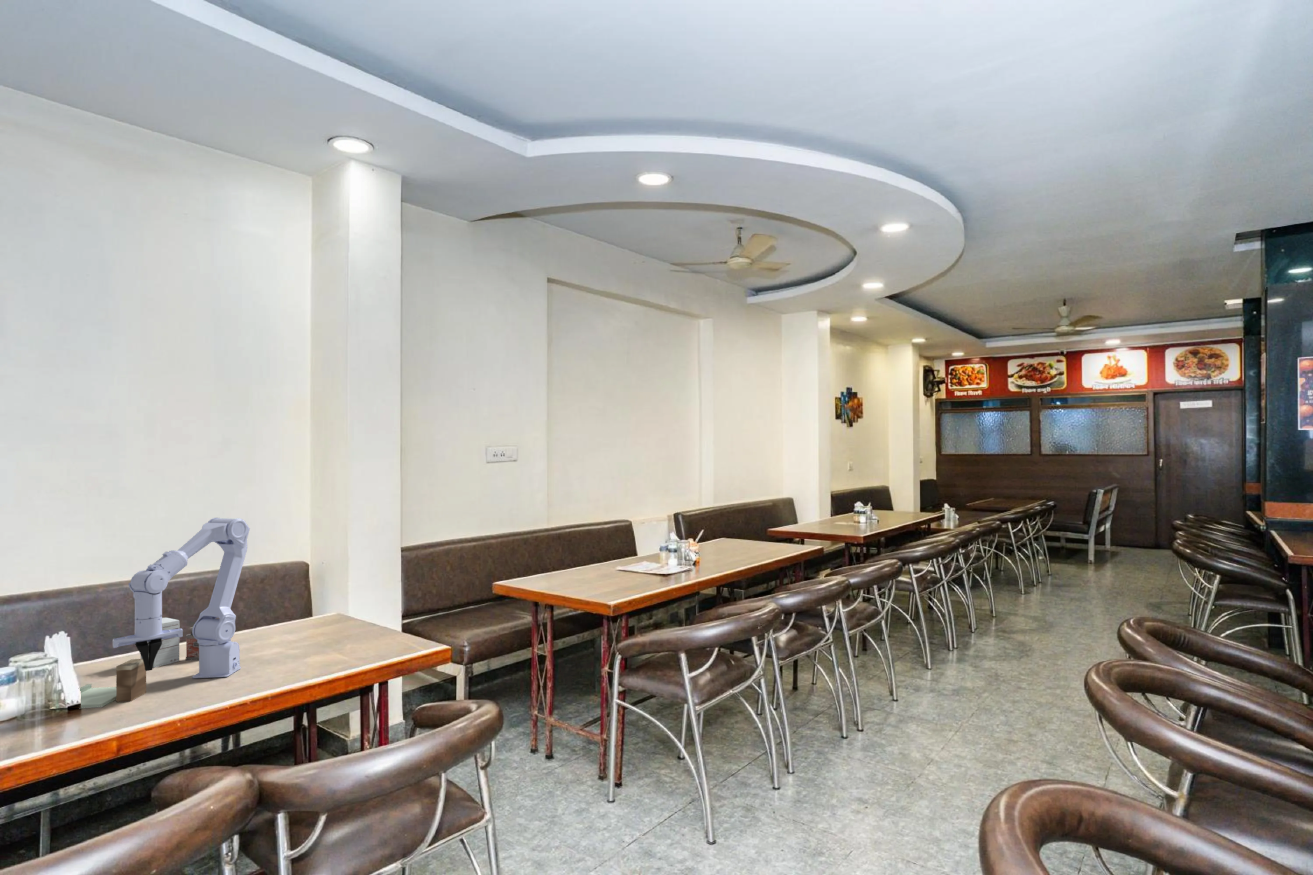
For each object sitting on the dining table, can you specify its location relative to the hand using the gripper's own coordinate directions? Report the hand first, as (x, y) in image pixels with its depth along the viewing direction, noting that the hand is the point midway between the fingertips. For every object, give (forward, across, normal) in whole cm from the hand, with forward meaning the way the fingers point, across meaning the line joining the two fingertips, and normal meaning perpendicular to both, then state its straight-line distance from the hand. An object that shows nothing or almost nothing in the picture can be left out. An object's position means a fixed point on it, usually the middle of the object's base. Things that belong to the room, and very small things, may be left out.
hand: (148, 669), depth 179 cm
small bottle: (+7, -16, -29) cm, 34 cm away
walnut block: (+7, +3, -2) cm, 8 cm away
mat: (+7, +10, -8) cm, 15 cm away
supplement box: (+7, -6, -33) cm, 34 cm away
